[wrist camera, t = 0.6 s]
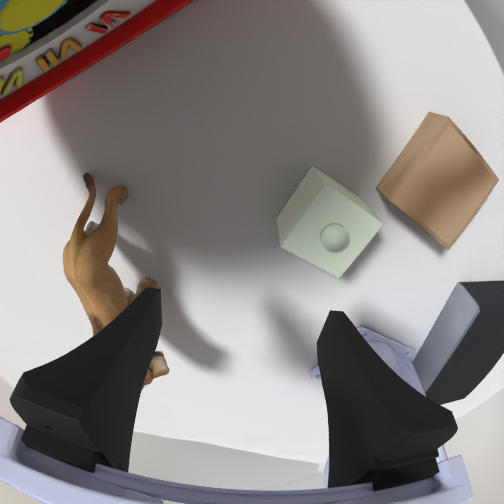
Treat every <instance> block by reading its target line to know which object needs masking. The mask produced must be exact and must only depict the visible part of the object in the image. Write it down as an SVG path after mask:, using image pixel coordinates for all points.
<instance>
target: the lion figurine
mask: <svg viewBox="0 0 504 504" xmlns="http://www.w3.org/2000/svg"><path fill="white" fill-rule="evenodd" d="M83 178H84V181H85V183H86V187H87V189H88V190H89V198H88V200H87V202H86V205H85V207H84V209H83V210H82V212H81V214H80V216H79V218H78V220H77V222H76V225H75V227H74V230H73V232H72V235H71V239H70V240H69V241H68V243H67V244H66V245H65V248H64V251H63V265H64V272H65V276H66V278H67V280H68V281H69V283H70V284H71V286H72V287H73V288H74V290H75V291H76V293H77V295H78V297H79V298H80V300H81V302H82V305H83V307H84V309H85V312H86V314H87V316H88V318H89V320H90V322H91V325H92V329H93V336H94V335H96V334H97V333H98V332H99V331H101V330H102V329H103V328H104V327H105V326H106V325H108V324H109V323H110V322H111V321H112V320H113V319H115V318H116V317H117V316H118V315H119V314H120V313H121V312H122V311H123V310H124V309H125V308H126V307H127V306H128V305H129V304H130V303H131V302H132V301H133V300H134V299H135V298H136V297H137V296H138V295H139V294H140V293H141V292H142V291H143V290H144V289H145V288H146V287H150V288H156V287H157V284H156V283H154V282H153V281H151V280H149V279H145V280H141V281H140V283H139V285H138V287H137V291H136V294H135V295H134V296H132V295H131V292H130V290H128V289H127V288H124V287H123V285H122V282H121V280H120V278H119V276H118V275H117V273H116V272H115V270H114V269H113V268H112V267H110V266H109V265H108V261H109V259H110V257H111V255H112V253H113V250H114V246H115V242H116V237H117V230H118V221H117V203H118V204H123V202H125V201H126V199H127V196H128V193H127V191H126V189H125V188H123V187H120V186H118V187H114V188H112V189H111V190H110V191H109V193H108V195H107V197H106V199H105V211H104V215H103V218H102V221H101V223H100V225H99V224H97V223H95V222H93V221H90V222H89V224H88V225H87V228H86V230H85V231H84V226H85V224H86V222H87V220H88V218H89V216H90V213H91V211H92V208H93V205H94V201H95V197H96V189H95V182H94V178H93V177H92V176H91V175H90V174H89V173H87V172H86V173H84V175H83ZM131 296H132V297H131ZM168 373H169V368H168V366H167V362H166V360H165V358H164V354H163V352H161V351H155V352H154V355H153V358H152V361H151V364H150V366H149V369H148V372H147V375H146V378H145V381H144V384H143V387H142V389H143V388H144V386H145V385H148V384H150V383H151V382H152V380H153V379H154V378H156V377H159V376H163V375H166V374H168Z"/></svg>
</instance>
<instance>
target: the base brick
mask: <svg viewBox="0 0 504 504" xmlns="http://www.w3.org/2000/svg"><path fill="white" fill-rule="evenodd" d="M498 181H499V179H498V178H497V176H496V175H495V173H494V172H493V171H492V169H491V168H490V166H489V165H488V164H487V162H486V161H485V160H484V159H483V157H482V156H481V155H480V153H479V152H478V151H477V150H476V148H475V147H474V146H473V145H472V143H471V142H470V141H469V140H468V139H467V137H466V136H465V135H464V134H463V133H462V131H461V130H460V129H459V128H458V127H457V126H456V125H455V124H454V122H453V121H452V120H451V119H450V118H449V117H447V116H443V115H440V114H436V113H432V112H429V113H428V114H427V116H426V117H425V119H424V120H423V122H422V123H421V125H420V126H419V128H418V129H417V131H416V132H415V134H414V135H413V137H412V138H411V140H410V141H409V143H408V144H407V145H406V147H405V148H404V150H403V151H402V153H401V154H400V156H399V157H398V158H397V160H396V161H395V163H394V164H393V165H392V167H391V168H390V170H389V171H388V173H387V174H386V175H385V177H384V178H383V179H382V181H381V182H380V184H379V185H378V186H377V189H378V190H379V191H380V192H381V193H382V194H383V195H384V196H385V197H386V198H387V199H388V200H389V201H390V202H392V203H393V204H394V205H395V206H397V207H398V208H399V209H400V210H402V211H403V212H404V213H405V214H407V215H408V216H409V217H410V218H412V219H413V220H414V221H415V222H416V223H418V224H419V225H420V226H421V227H422V228H424V229H425V230H426V231H427V232H428V233H429V234H431V235H432V236H433V237H434V238H435V239H436V240H437V241H439V242H440V243H441V244H442V245H443V246H444V247H445V248H446V249H447V250H449V249H450V247H451V246H452V245H453V244H454V242H455V241H456V240H457V239H458V237H459V236H460V235H461V233H462V232H463V231H464V229H465V228H466V227H467V225H468V224H469V223H470V221H471V220H472V219H473V217H474V216H475V215H476V213H477V212H478V210H479V209H480V207H481V206H482V205H483V203H484V202H485V200H486V199H487V197H488V196H489V194H490V193H491V191H492V190H493V188H494V187H495V185H496V184H497V182H498Z"/></svg>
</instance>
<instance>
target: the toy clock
mask: <svg viewBox="0 0 504 504" xmlns="http://www.w3.org/2000/svg"><path fill="white" fill-rule="evenodd" d="M191 1H193V0H0V123H1V122H2V121H4V120H5V119H7V118H8V117H10V116H12V115H13V114H15V113H17V112H18V111H20V110H22V109H23V108H25V107H26V106H28V105H29V104H31V103H33V102H34V101H36V100H37V99H39V98H41V97H42V96H44V95H45V94H47V93H49V92H50V91H52V90H53V89H55V88H56V87H58V86H60V85H61V84H63V83H65V82H66V81H68V80H69V79H71V78H72V77H74V76H75V75H77V74H79V73H80V72H82V71H83V70H85V69H87V68H88V67H90V66H91V65H93V64H94V63H96V62H98V61H99V60H101V59H102V58H104V57H106V56H107V55H109V54H111V53H112V52H114V51H115V50H117V49H118V48H120V47H122V46H123V45H125V44H126V43H128V42H130V41H131V40H133V39H134V38H136V37H137V36H139V35H141V34H142V33H144V32H145V31H147V30H148V29H150V28H152V27H153V26H155V25H156V24H158V23H159V22H161V21H162V20H164V19H165V18H167V17H168V16H170V15H171V14H173V13H175V12H176V11H178V10H179V9H181V8H182V7H184V6H185V5H187V4H188V3H190V2H191Z"/></svg>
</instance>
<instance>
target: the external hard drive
mask: <svg viewBox="0 0 504 504" xmlns="http://www.w3.org/2000/svg"><path fill="white" fill-rule="evenodd" d="M503 353H504V281H481V282H459V283H457V285H456V287H455V288H454V290H453V292H452V293H451V295H450V297H449V299H448V301H447V303H446V304H445V306H444V308H443V310H442V311H441V313H440V315H439V317H438V319H437V320H436V322H435V324H434V326H433V327H432V329H431V331H430V333H429V335H428V336H427V338H426V340H425V342H424V343H423V345H422V347H421V348H420V350H419V352H418V354H417V356H416V358H415V359H414V361H413V365H414V368H415V370H416V373H417V375H418V377H419V380H420V382H421V385H422V387H423V390H424V392H425V395H426V397H427V398H429V399H430V400H432V401H433V402H435V403H437V404H439V405H442V404H445V403H449V402H453V401H456V400H460V399H464V398H465V397H466V396H467V395H468V394H470V393H471V392H472V391H473V390H474V389H475V388H476V387H477V385H478V384H479V383H480V382H481V381H482V380H483V379H484V378H485V377H486V375H487V374H488V373H489V372H490V371H491V370H492V368H493V367H494V366H495V364H496V363H497V362H498V360H499V359H500V358H501V356H502V355H503Z"/></svg>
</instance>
